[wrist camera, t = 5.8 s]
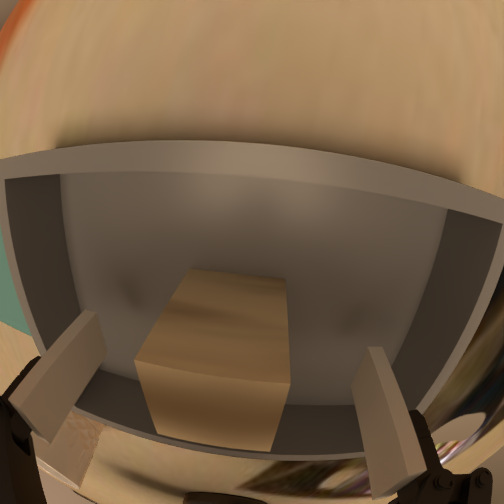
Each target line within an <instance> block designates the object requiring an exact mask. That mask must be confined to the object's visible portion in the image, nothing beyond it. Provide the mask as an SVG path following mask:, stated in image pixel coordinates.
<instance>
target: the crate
mask: <svg viewBox="0 0 504 504" xmlns="http://www.w3.org/2000/svg"><path fill="white" fill-rule="evenodd" d="M0 226H1V232H2V237H3V243H4V247H5V252H6V257H7V261H8V265H9V269H10V273H11V276H12V280H13V283H14V287H15V290H16V293H17V297H18V300H19V303H20V306H21V308H22V311H23V314H24V317H25V320H26V322H27V325H28V327H29V330H30V332H31V335H32V337H33V339H34V342H35V344H36V346H37V349H38V351H39V353H40V355H41V357H42V356H43V355H44V354H45V353H46V352H47V350H48V349H49V348H50V347H51V346H52V345H53V344H54V342H55V341H56V340H57V339H58V338H59V337H60V336H61V335H62V334H63V332H64V331H65V330H66V329H67V328H68V327H69V326H70V325H71V324H72V323H73V322H74V321H75V319H76V318H77V317H78V316H79V315H80V314H81V313H82V312H83V311H84V310H89V311H93V312H97V316H98V320H99V324H100V328H101V331H102V335H103V338H104V342H105V345H106V348H107V352H108V354H107V355H106V357H105V358H104V360H103V361H102V363H101V364H100V366H99V367H98V369H97V370H96V372H95V373H94V375H93V376H92V378H91V379H90V381H89V382H88V384H87V385H86V387H85V389H84V390H83V392H82V393H81V395H80V396H79V398H78V400H77V401H76V403H75V404H74V406H73V408H72V409H71V410H72V411H74V412H76V413H78V414H80V415H83V416H85V417H87V418H90V419H92V420H94V421H97V422H99V423H102V424H105V425H107V426H110V427H112V428H115V429H118V430H121V431H124V432H127V433H130V434H133V435H136V436H139V437H142V438H146V439H149V440H153V441H156V442H160V443H164V444H168V445H172V446H176V447H181V448H185V449H190V450H195V451H200V452H206V453H212V454H218V455H225V456H232V457H241V458H251V459H264V460H284V461H316V460H337V459H349V458H359V457H365V451H364V446H363V441H362V436H361V431H360V426H359V422H358V417H357V412H356V408H355V403H354V399H353V395H352V390H351V383H352V381H353V379H354V377H355V375H356V373H357V371H358V368H359V366H360V364H361V362H362V359H363V357H364V355H365V352H366V350H367V348H368V347H383V350H384V352H385V354H386V357H387V359H388V361H389V364H390V366H391V369H392V371H393V373H394V376H395V378H396V381H397V383H398V386H399V389H400V391H401V394H402V396H403V399H404V402H405V404H406V407H407V410H408V411H409V410H416V409H417V410H418V411H419V412H420V413H421V414H423V413H424V412H425V410H426V409H427V408H428V406H429V405H430V404H431V402H432V401H433V400H434V398H435V397H436V396H437V394H438V393H439V391H440V390H441V388H442V387H443V386H444V384H445V383H446V381H447V380H448V378H449V377H450V375H451V373H452V372H453V370H454V369H455V367H456V365H457V364H458V362H459V360H460V359H461V357H462V355H463V354H464V352H465V350H466V348H467V347H468V345H469V343H470V341H471V339H472V337H473V335H474V334H475V332H476V330H477V328H478V326H479V324H480V321H481V319H482V317H483V315H484V313H485V311H486V309H487V306H488V304H489V302H490V299H491V297H492V295H493V292H494V290H495V287H496V284H497V282H498V279H499V276H500V274H501V271H502V268H503V265H504V199H502V198H500V197H497V196H495V195H492V194H490V193H487V192H484V191H481V190H479V189H476V188H473V187H470V186H467V185H464V184H461V183H458V182H455V181H452V180H449V179H446V178H442V177H439V176H435V175H432V174H428V173H425V172H421V171H417V170H414V169H410V168H406V167H402V166H398V165H393V164H389V163H385V162H380V161H375V160H371V159H366V158H361V157H355V156H350V155H344V154H339V153H333V152H326V151H320V150H313V149H305V148H298V147H289V146H280V145H270V144H259V143H246V142H231V141H207V140H151V141H128V142H113V143H101V144H90V145H81V146H73V147H65V148H58V149H52V150H45V151H39V152H34V153H28V154H23V155H18V156H14V157H9V158H5V159H0ZM189 269H199V270H207V271H216V272H225V273H234V274H243V275H252V276H262V277H271V278H281V279H285V282H286V298H287V315H288V334H289V355H290V381H291V384H290V388H289V391H288V395H287V398H286V402H285V405H284V409H283V412H282V415H281V419H280V422H279V425H278V428H277V431H276V434H275V437H274V441H273V444H272V447H271V450H270V452H267V451H254V450H243V449H235V448H227V447H220V446H213V445H207V444H202V443H196V442H191V441H186V440H182V439H177V438H173V437H169V436H165V435H161V434H157V431H156V428H155V426H154V423H153V420H152V417H151V414H150V412H149V409H148V406H147V403H146V400H145V396H144V393H143V390H142V387H141V383H140V380H139V377H138V373H137V369H136V366H135V362H134V359H135V357H136V355H137V353H138V352H139V350H140V348H141V347H142V345H143V343H144V341H145V340H146V338H147V336H148V335H149V333H150V331H151V330H152V328H153V326H154V325H155V323H156V321H157V320H158V318H159V316H160V315H161V313H162V312H163V310H164V308H165V307H166V305H167V303H168V302H169V300H170V299H171V297H172V295H173V294H174V292H175V291H176V289H177V287H178V286H179V284H180V283H181V281H182V280H183V278H184V276H185V275H186V273H187V272H188V270H189Z"/></svg>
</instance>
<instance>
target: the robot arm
mask: <svg viewBox="0 0 504 504" xmlns="http://www.w3.org/2000/svg"><path fill="white" fill-rule="evenodd" d="M107 354H108V352H107V348H106V345H105V342H104V338H103V335H102V331H101V328H100V324H99V320H98V316H97V312H93V311H89V310H84V311H83V312H82V313H81V314H80V315H79V316H78V317H77V318H76V319H75V321H74V322H73V323H72V324H71V325H70V326H69V327H68V328H67V329H66V330H65V331H64V332H63V334H62V335H61V336H60V337H59V338H58V339H57V340H56V341H55V342H54V344H53V345H52V346H51V347H50V348H49V349H48V350H47V352H46V353H45V354H44V355H43V356H42V357H40V356H37V357H36V358H34V359H32V360H31V361H30V362H29V363H28V364H27V365H26V366H25V368H24V370H22V371H21V372H20V375H18V376H17V377H16V378H15V380H14V381H13V382H12V383H11V385H10V386H9V387H8V388H7V390H6V391H5V392H4V394H3V395H2V396H0V504H47V502H46V498H45V495H44V491H43V488H42V484H41V480H40V476H39V471H38V467H37V462H36V456H35V451H34V444H33V438H32V435H31V434H30V433H31V432H32V431H33V432H34V433H35V434H36V435H37V436H38V437H39V438H40V439H42V440H43V441H45V442H47V443H48V444H50V445H51V443H52V441H53V439H54V438H55V436H56V434H57V433H58V431H59V429H60V427H61V426H62V424H63V422H64V421H65V419H66V417H67V416H68V414H69V412H70V411H71V409H72V408H73V406H74V404H75V403H76V401H77V400H78V398H79V396H80V395H81V393H82V392H83V390H84V389H85V387H86V385H87V384H88V382H89V381H90V379H91V378H92V376H93V375H94V373H95V372H96V370H97V369H98V367H99V366H100V364H101V363H102V361H103V360H104V358H105V357H106V355H107ZM351 390H352V395H353V399H354V403H355V408H356V412H357V417H358V422H359V426H360V431H361V436H362V441H363V446H364V451H365V457H366V462H367V468H368V474H369V480H370V486H371V493H372V500H377V499H382V498H386V497H390V496H392V495H393V494H395V493H396V492H397V495H398V497H397V498H396V499H394V500H392V501H391V502H389V503H388V504H491V495H492V483H493V480H492V474H491V472H490V471H489V470H488V469H486V468H483V467H481V468H478V469H476V470H475V471H474V472H472V473H471V474H452V472H450V471H449V470H447V469H444V468H443V467H442V465H441V463H440V460H439V457H438V454H437V451H436V448H435V445H434V443H433V439H432V437H431V434H430V431H429V430H428V426H427V423H426V420H425V418H424V417H423V415H422V414H421V413H420V412H419V411H418V410H417V409H416V410H409V411H408V410H407V407H406V404H405V402H404V399H403V396H402V394H401V391H400V389H399V386H398V383H397V381H396V378H395V376H394V373H393V371H392V369H391V366H390V364H389V361H388V359H387V357H386V354H385V352H384V350H383V347H368V348H367V350H366V352H365V355H364V357H363V359H362V362H361V364H360V366H359V368H358V371H357V373H356V375H355V377H354V379H353V381H352V383H351ZM183 504H266V503H263V502H260V501H257V500H253V499H248V498H243V497H237V496H230V495H222V494H213V493H188V494H185V496H184V500H183Z"/></svg>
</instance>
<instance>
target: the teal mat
mask: <svg viewBox="0 0 504 504" xmlns="http://www.w3.org/2000/svg"><path fill="white" fill-rule="evenodd" d="M0 321H2V322H3V323H5V324H7V325H9V326H11V327H13V328H15V329H17V330H19V331H21V332H23V333H25V334H28V335H30V336H32V335H31V332H30V330H29V327H28V325H27V322H26V320H25V317H24V314H23V311H22V308H21V306H20V303H19V300H18V297H17V293H16V290H15V287H14V283H13V280H12V276H11V273H10V269H9V265H8V261H7V257H6V252H5V247H4V243H3V237H2V232H1V226H0Z"/></svg>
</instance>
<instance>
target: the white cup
mask: <svg viewBox="0 0 504 504" xmlns="http://www.w3.org/2000/svg"><path fill="white" fill-rule="evenodd" d="M104 425H105V424H102V423H99V422H97V421H94V420H92V419H90V418H87V417H85V416H83V415H80V414H78V413H76V412H74V411H72V410H71V411H70V412H69V414H68V416H67V417H66V419H65V421H64V422H63V424H62V426H61V427H60V429H59V431H58V433H57V434H56V436H55V438H54V439H53V441H52V443H51V445H50V444H48V443H47V442H45V441H43V440H42V439H40V438H39V437H38V436H37V435H36V434H35V433H34V432H33V431H32V432H31V433H30V434H31V435H32V438H33V444H34V451H35V456H36V462H37V465H38V466H40V467H41V468H42V469H44V470H45V471H47V472H48V473H50V474H51V475H53V476H54V477H56V478H57V479H59V480H61V481H62V482H64V483H66V484H68V485H70V486H72V487H74V488H77V489H80V488H81V485H82V482H83V479H84V477H85V474H86V472H87V469H88V467H89V464H90V462H91V459H92V457H93V454H94V450H95V448H96V446H97V443H98V439H99V435H100V434H101V432H102V429H103V427H104Z"/></svg>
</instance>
